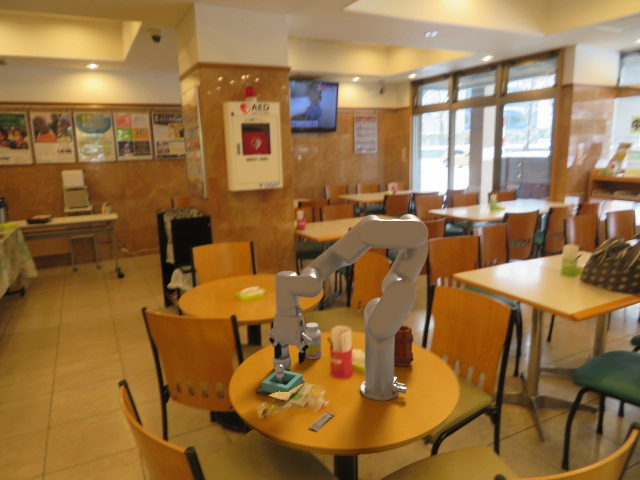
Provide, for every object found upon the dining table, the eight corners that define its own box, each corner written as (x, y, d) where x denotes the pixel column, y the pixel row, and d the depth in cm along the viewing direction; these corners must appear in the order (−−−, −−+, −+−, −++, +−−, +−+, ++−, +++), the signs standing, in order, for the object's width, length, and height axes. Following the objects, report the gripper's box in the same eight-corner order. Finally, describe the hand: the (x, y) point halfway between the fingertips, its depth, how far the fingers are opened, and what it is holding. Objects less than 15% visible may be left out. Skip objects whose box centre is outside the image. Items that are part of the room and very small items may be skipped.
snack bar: (317, 431, 124) (309, 425, 126) (316, 435, 125) (307, 429, 126) (335, 414, 132) (327, 408, 134) (333, 417, 133) (325, 412, 134)
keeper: (304, 383, 151) (303, 360, 149) (286, 401, 140) (285, 376, 139) (275, 376, 156) (273, 354, 154) (255, 393, 146) (254, 369, 144)
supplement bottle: (306, 351, 175) (305, 321, 173) (322, 352, 174) (321, 321, 172) (303, 359, 169) (302, 327, 166) (320, 359, 168) (319, 328, 165)
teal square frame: (303, 382, 150) (302, 374, 149) (288, 397, 141) (287, 388, 140) (278, 376, 154) (277, 368, 153) (262, 390, 145) (261, 382, 145)
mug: (418, 363, 163) (419, 325, 160) (407, 371, 157) (408, 332, 154) (385, 352, 173) (385, 316, 170) (373, 359, 167) (373, 322, 164)
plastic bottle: (290, 372, 158) (288, 320, 154) (272, 373, 159) (269, 321, 155) (292, 364, 165) (290, 314, 161) (274, 364, 165) (271, 314, 161)
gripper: (317, 309, 140) (318, 359, 144) (271, 302, 148) (273, 350, 151) (306, 317, 134) (308, 370, 137) (258, 309, 141) (261, 359, 145)
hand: (290, 359), depth 144 cm, fingers open, 8 cm apart
